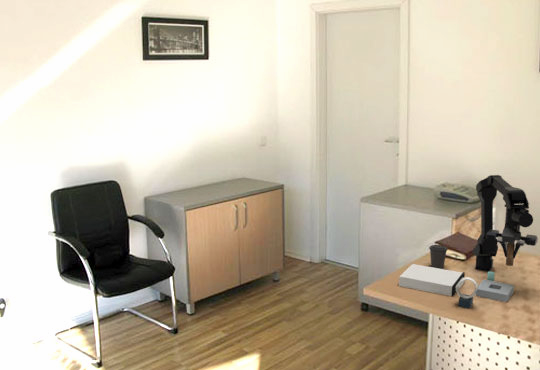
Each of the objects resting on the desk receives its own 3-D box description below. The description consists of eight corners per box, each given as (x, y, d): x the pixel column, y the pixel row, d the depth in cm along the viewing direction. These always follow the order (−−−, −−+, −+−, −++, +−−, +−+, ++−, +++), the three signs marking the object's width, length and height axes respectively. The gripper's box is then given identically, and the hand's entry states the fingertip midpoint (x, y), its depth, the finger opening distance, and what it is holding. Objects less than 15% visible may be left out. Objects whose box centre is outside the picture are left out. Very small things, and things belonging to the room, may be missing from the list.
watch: (456, 300, 239) (457, 273, 237) (477, 304, 236) (479, 277, 233) (453, 305, 234) (454, 278, 232) (474, 309, 231) (476, 282, 228)
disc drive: (453, 298, 243) (454, 286, 242) (398, 287, 254) (399, 275, 253) (464, 283, 258) (465, 272, 256) (412, 274, 269) (412, 263, 268)
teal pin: (486, 284, 255) (486, 273, 254) (487, 282, 258) (488, 271, 256) (493, 285, 254) (493, 274, 253) (494, 283, 256) (495, 272, 255)
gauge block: (475, 295, 244) (475, 288, 243) (483, 286, 253) (483, 279, 253) (507, 302, 237) (507, 295, 237) (513, 291, 247) (514, 285, 246)
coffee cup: (432, 262, 281) (433, 242, 279) (449, 266, 276) (450, 245, 274) (425, 268, 274) (426, 246, 272) (442, 271, 270) (444, 250, 268)
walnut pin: (505, 265, 248) (506, 243, 246) (506, 263, 251) (508, 242, 249) (512, 266, 247) (514, 244, 245) (513, 264, 249) (515, 243, 247)
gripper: (484, 222, 243) (481, 259, 246) (534, 228, 233) (531, 267, 237) (490, 215, 252) (488, 251, 255) (539, 221, 242) (536, 259, 246)
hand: (510, 257), depth 248 cm, fingers closed on walnut pin, 3 cm apart
